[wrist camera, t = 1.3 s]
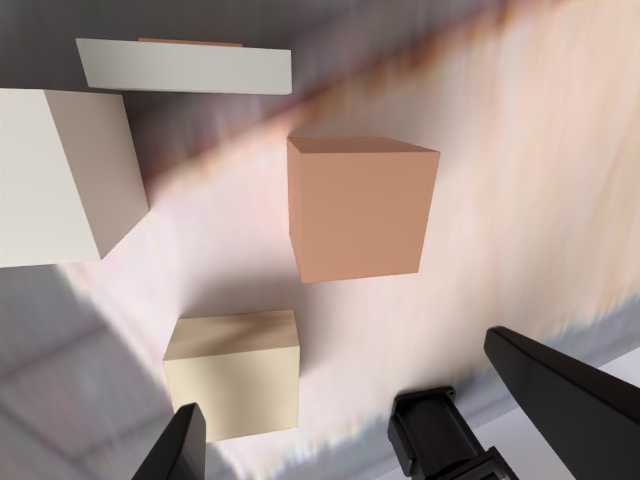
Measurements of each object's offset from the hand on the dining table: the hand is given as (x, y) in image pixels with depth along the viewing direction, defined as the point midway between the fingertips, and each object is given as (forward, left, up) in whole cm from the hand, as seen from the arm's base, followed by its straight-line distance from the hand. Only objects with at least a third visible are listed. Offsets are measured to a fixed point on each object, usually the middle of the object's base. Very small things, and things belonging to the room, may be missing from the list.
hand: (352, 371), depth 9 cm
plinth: (+5, -8, -12) cm, 15 cm away
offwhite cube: (+12, -4, -12) cm, 17 cm away
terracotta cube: (-2, -2, -12) cm, 12 cm away
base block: (+5, +10, -12) cm, 16 cm away
